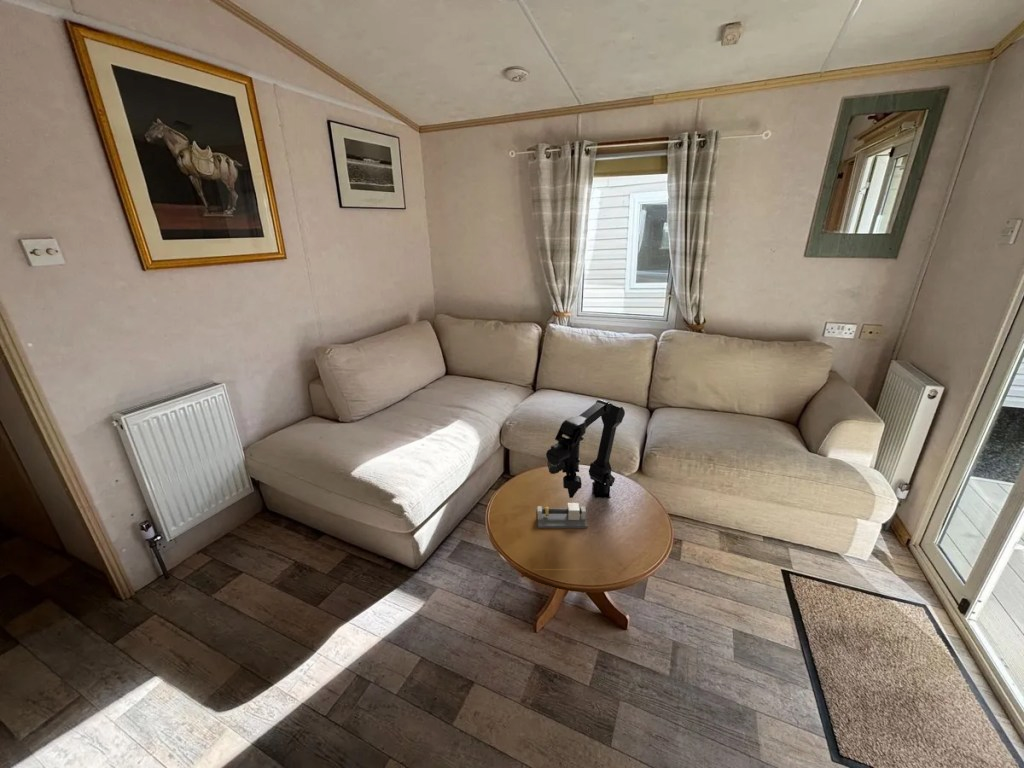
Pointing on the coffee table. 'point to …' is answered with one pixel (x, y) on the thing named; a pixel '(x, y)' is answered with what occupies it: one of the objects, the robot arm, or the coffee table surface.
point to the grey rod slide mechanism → (559, 518)
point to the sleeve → (573, 511)
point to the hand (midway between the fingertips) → (570, 489)
